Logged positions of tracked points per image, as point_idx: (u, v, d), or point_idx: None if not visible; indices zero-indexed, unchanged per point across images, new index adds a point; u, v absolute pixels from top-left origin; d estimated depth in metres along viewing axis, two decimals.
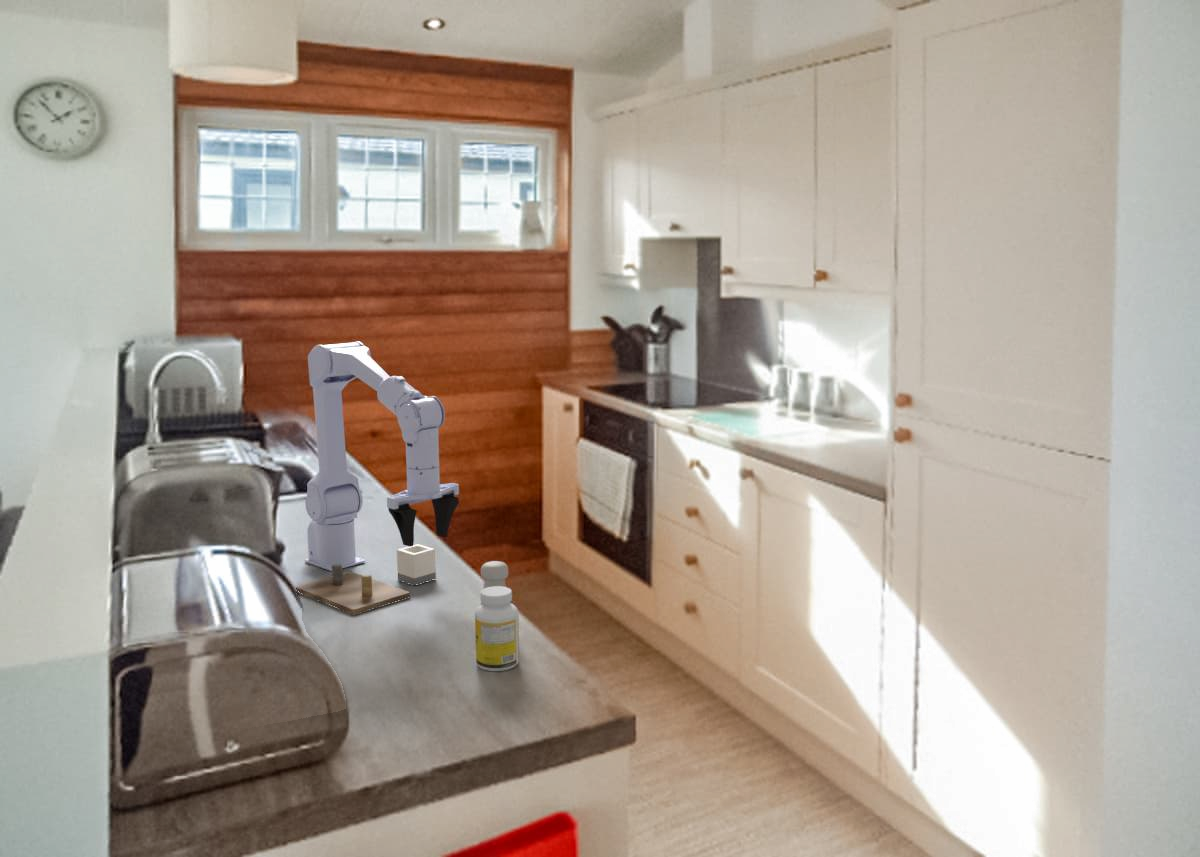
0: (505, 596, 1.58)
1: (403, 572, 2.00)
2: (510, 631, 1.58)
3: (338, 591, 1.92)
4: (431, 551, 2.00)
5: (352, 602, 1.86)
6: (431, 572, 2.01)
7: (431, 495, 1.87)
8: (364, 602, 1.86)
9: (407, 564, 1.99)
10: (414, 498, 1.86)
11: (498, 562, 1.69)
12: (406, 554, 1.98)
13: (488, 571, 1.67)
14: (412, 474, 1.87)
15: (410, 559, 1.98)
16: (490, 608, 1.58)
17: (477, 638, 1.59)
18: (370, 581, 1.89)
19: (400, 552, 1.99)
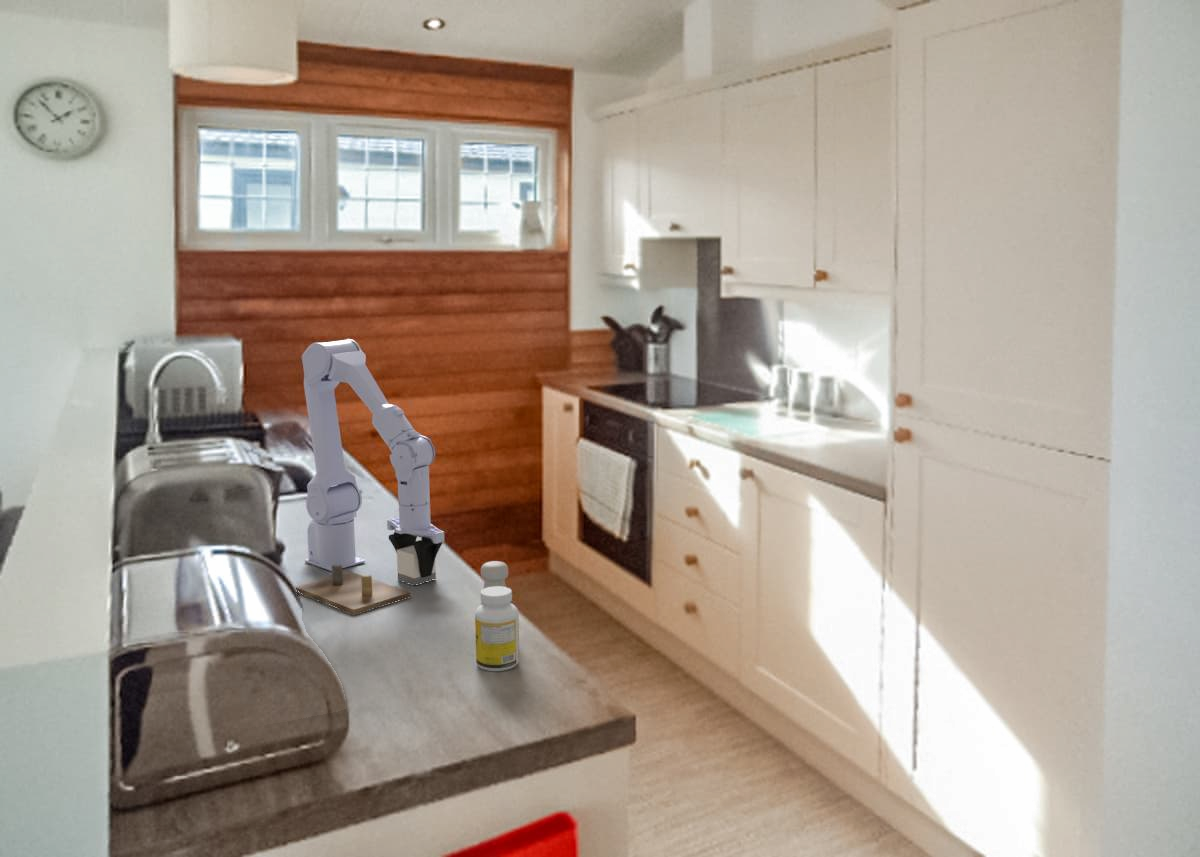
0: (505, 596, 1.58)
1: (403, 572, 2.00)
2: (510, 631, 1.58)
3: (338, 591, 1.92)
4: None
5: (352, 602, 1.86)
6: None
7: None
8: (364, 602, 1.86)
9: (407, 564, 1.99)
10: (394, 526, 2.01)
11: (498, 562, 1.69)
12: (406, 554, 1.98)
13: (488, 571, 1.67)
14: None
15: (410, 559, 1.98)
16: (490, 608, 1.58)
17: (477, 638, 1.59)
18: (370, 581, 1.89)
19: (400, 552, 1.99)
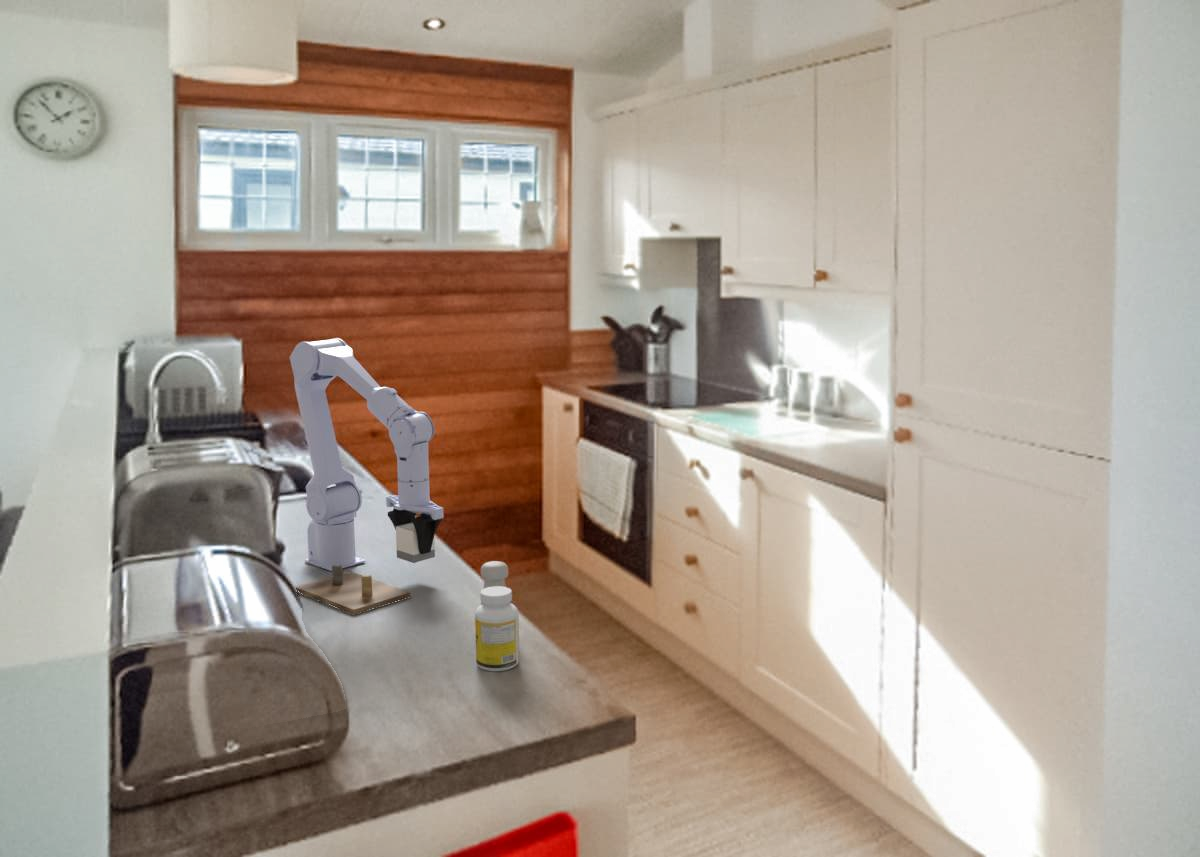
0: (505, 596, 1.58)
1: (402, 549, 1.99)
2: (510, 631, 1.58)
3: (338, 591, 1.92)
4: None
5: (352, 602, 1.86)
6: None
7: (395, 505, 1.97)
8: (364, 602, 1.86)
9: (406, 541, 1.98)
10: (393, 503, 2.00)
11: (498, 562, 1.69)
12: (405, 531, 1.97)
13: (488, 571, 1.67)
14: None
15: (409, 536, 1.97)
16: (490, 608, 1.58)
17: (477, 638, 1.59)
18: (370, 581, 1.89)
19: (399, 528, 1.99)
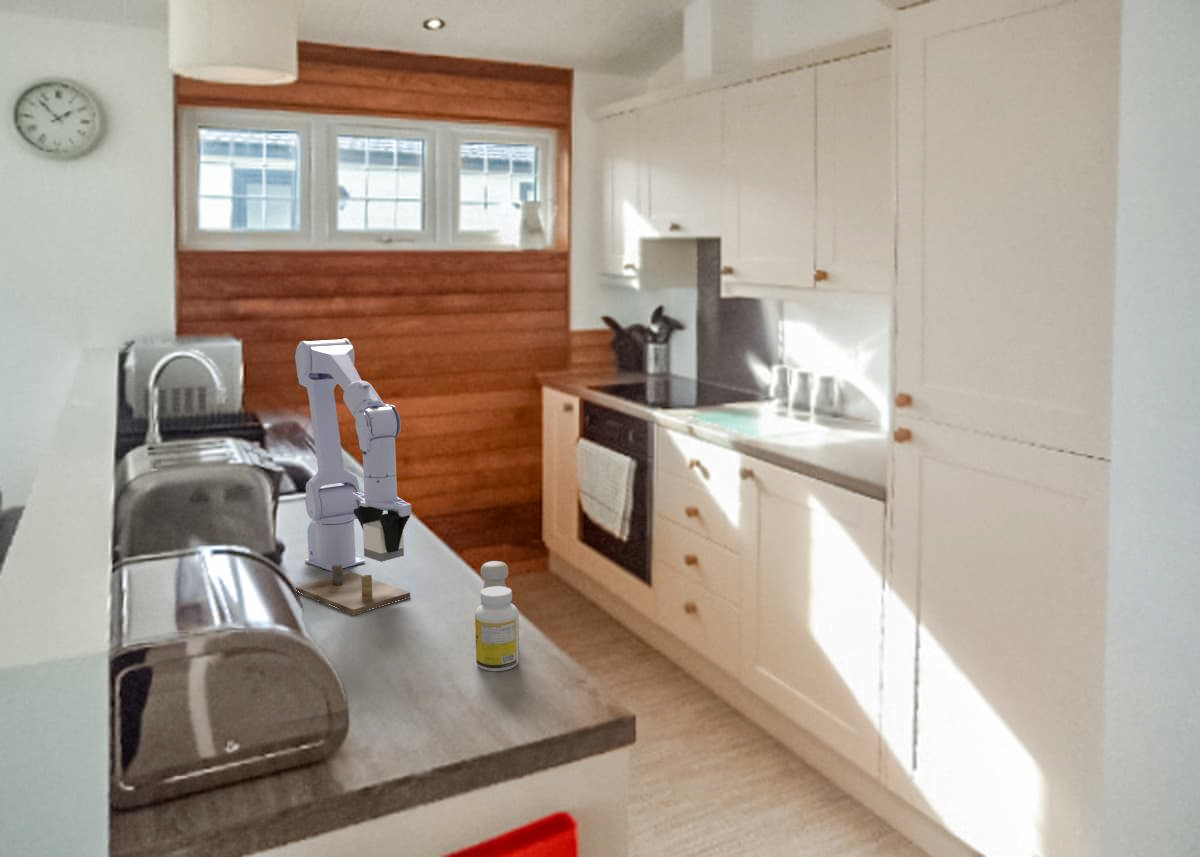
0: (505, 596, 1.58)
1: (369, 547, 1.91)
2: (510, 631, 1.58)
3: (338, 591, 1.92)
4: None
5: (352, 602, 1.86)
6: (399, 547, 1.92)
7: None
8: (364, 602, 1.86)
9: (373, 539, 1.90)
10: (359, 500, 1.92)
11: (498, 562, 1.69)
12: (373, 529, 1.90)
13: (488, 571, 1.67)
14: None
15: (376, 533, 1.89)
16: (490, 608, 1.58)
17: (477, 638, 1.59)
18: (370, 581, 1.89)
19: (366, 526, 1.91)
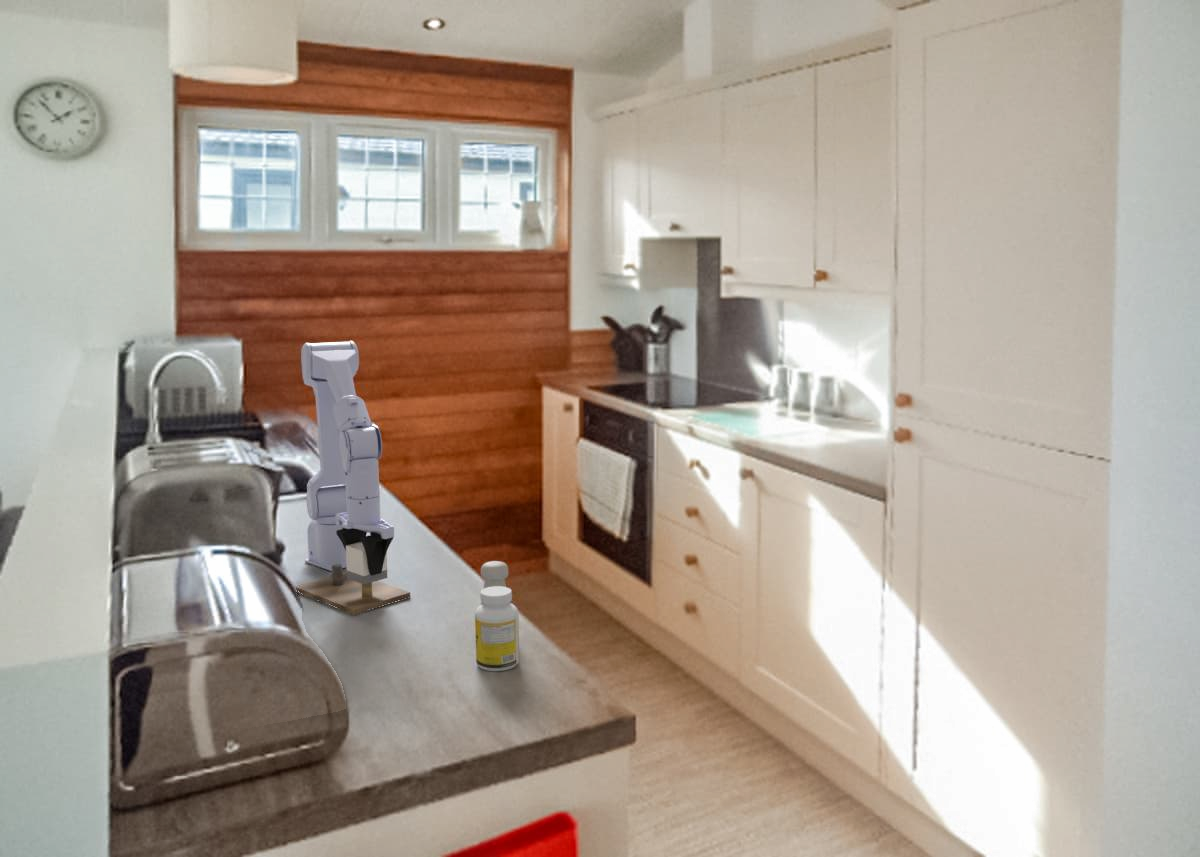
0: (505, 596, 1.58)
1: (352, 569, 1.88)
2: (510, 631, 1.58)
3: (338, 591, 1.92)
4: None
5: (352, 602, 1.86)
6: (382, 570, 1.89)
7: None
8: (364, 602, 1.86)
9: (356, 561, 1.87)
10: (342, 521, 1.89)
11: (498, 562, 1.69)
12: (356, 551, 1.86)
13: (488, 570, 1.67)
14: None
15: (359, 555, 1.86)
16: (490, 608, 1.58)
17: (477, 638, 1.59)
18: None
19: (349, 548, 1.88)
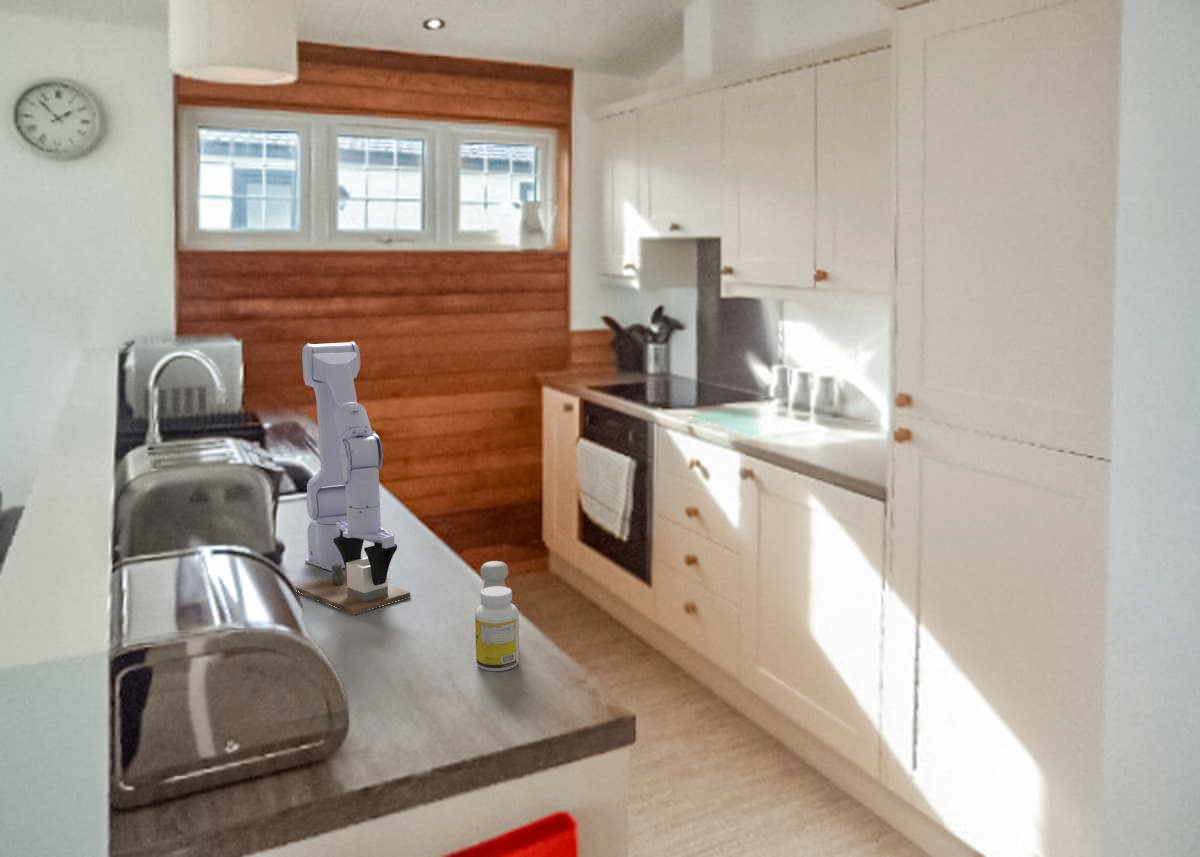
0: (505, 596, 1.58)
1: (353, 586, 1.89)
2: (510, 631, 1.58)
3: (338, 591, 1.92)
4: None
5: (352, 602, 1.86)
6: (383, 586, 1.89)
7: None
8: (364, 602, 1.86)
9: (357, 578, 1.87)
10: (343, 530, 1.89)
11: (498, 562, 1.69)
12: (356, 568, 1.87)
13: (488, 570, 1.67)
14: None
15: (360, 573, 1.87)
16: (490, 608, 1.58)
17: (477, 638, 1.59)
18: None
19: (349, 565, 1.88)
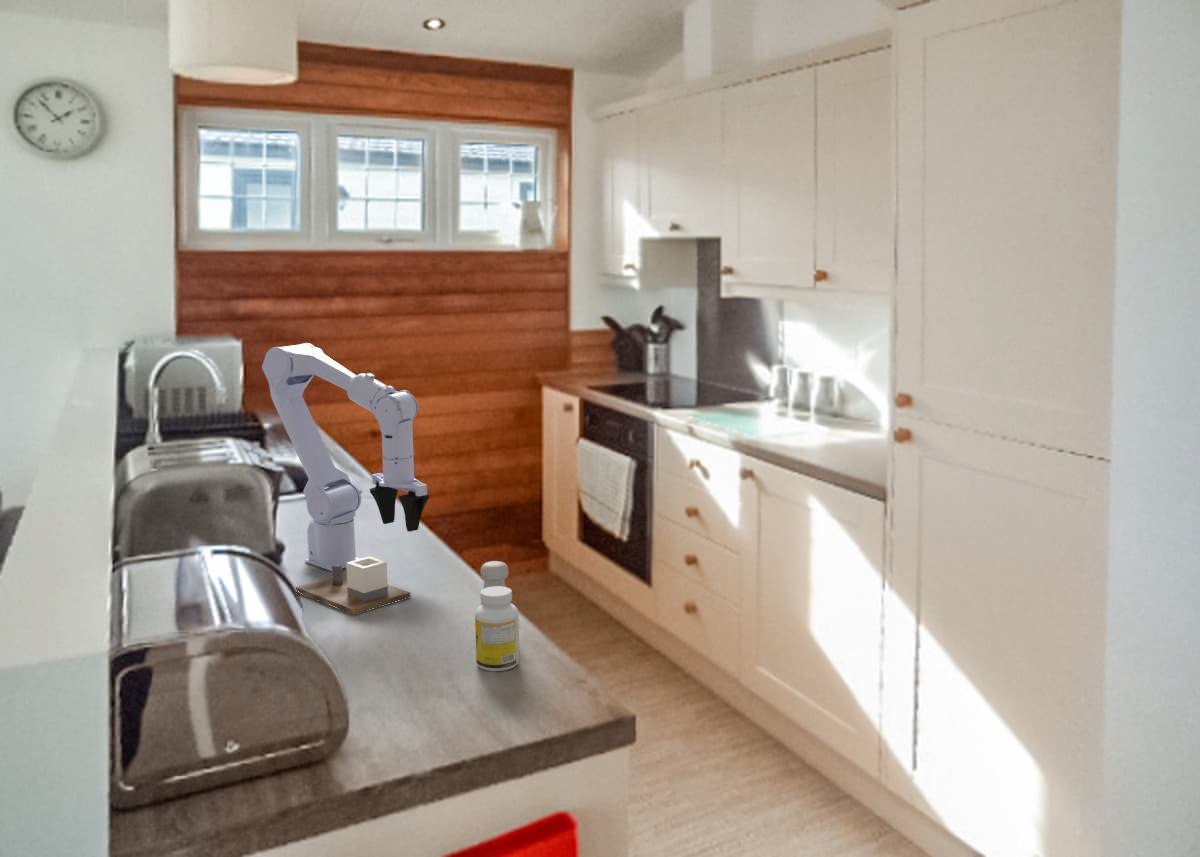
0: (505, 596, 1.58)
1: (353, 586, 1.89)
2: (510, 631, 1.58)
3: (338, 591, 1.92)
4: (382, 565, 1.89)
5: (352, 602, 1.86)
6: (383, 586, 1.89)
7: (380, 482, 2.00)
8: (364, 602, 1.86)
9: (357, 578, 1.87)
10: (379, 480, 2.03)
11: (498, 562, 1.69)
12: (356, 568, 1.87)
13: (488, 571, 1.67)
14: None
15: (360, 573, 1.87)
16: (490, 608, 1.58)
17: (477, 638, 1.59)
18: None
19: (349, 565, 1.88)
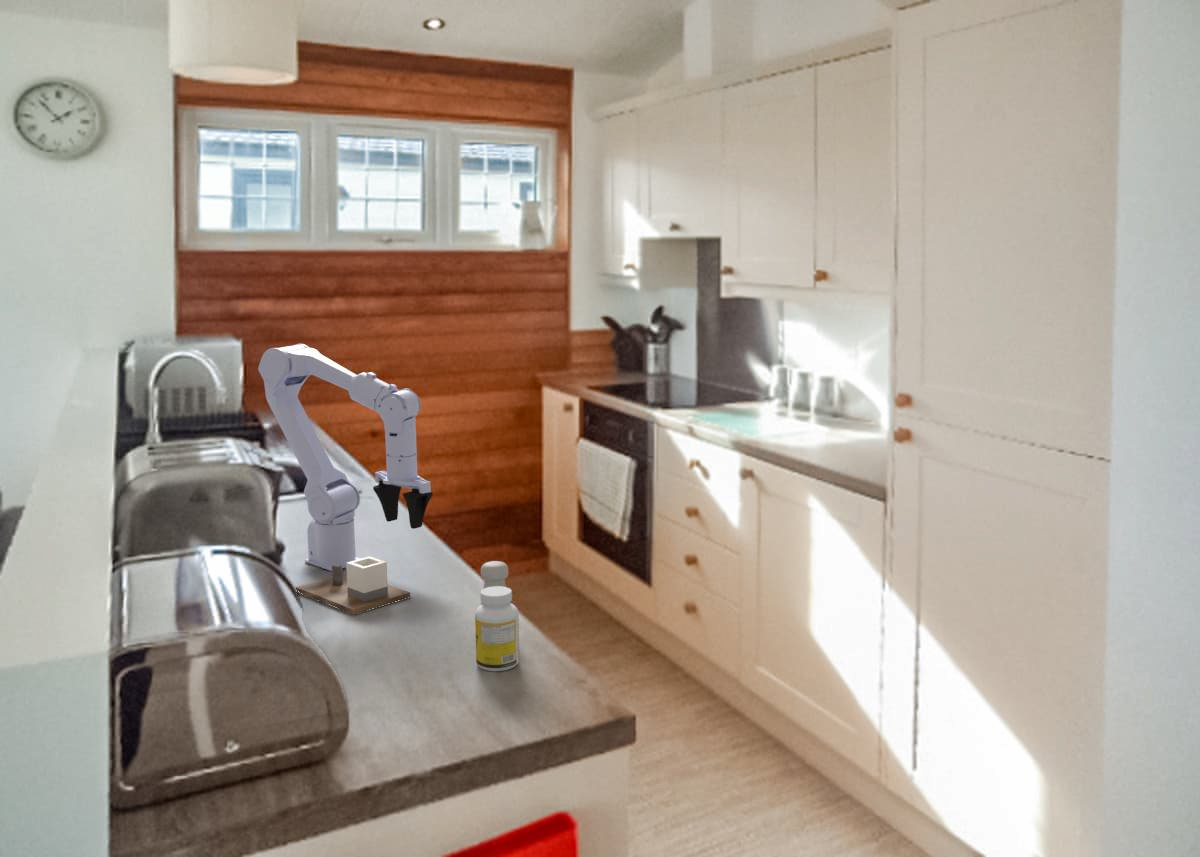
0: (505, 596, 1.58)
1: (353, 586, 1.89)
2: (510, 631, 1.58)
3: (338, 591, 1.92)
4: (382, 565, 1.89)
5: (352, 602, 1.86)
6: (383, 586, 1.89)
7: None
8: (364, 602, 1.86)
9: (357, 578, 1.87)
10: (382, 478, 2.04)
11: (498, 562, 1.69)
12: (356, 568, 1.87)
13: (488, 571, 1.67)
14: None
15: (360, 573, 1.87)
16: (490, 608, 1.58)
17: (477, 638, 1.59)
18: None
19: (349, 565, 1.88)
